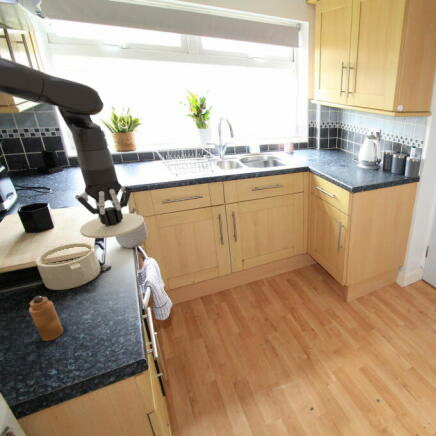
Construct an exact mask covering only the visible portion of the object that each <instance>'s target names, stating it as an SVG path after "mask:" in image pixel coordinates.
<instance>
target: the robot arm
mask: <svg viewBox="0 0 436 436" xmlns="http://www.w3.org/2000/svg"><path fill="white" fill-rule="evenodd" d="M0 94H3V95H7V96H9V97H14V98H18V99H21V100H24V101H28V102H32V103H36V104H41V105H48V106H54V107H57V110H58V112H59V114H60V116H61V118H62V119H63V121H64V123H65V125H66V127H67V128H68V129H69V131H70V133H71V136H72V140H73V144H74V148H75V151H76V158H77V162H78V166H79V169H80V171H81V175H82V179H83V182H84V185H85V188H84V192H82V193H81V194H77V195H75V196H74V197H75V199H76V200H77V201H78V202H79V203H80V204H81V205H82V206H83V207H84V208H85V209H86V210H87V211H89V213H91V214H92V215H98V218H100V221H101V223H102V224H103V225H106V226H108V225H109V222H108V219H107V215H106V213H105V208H106V207H105V206H106V203H105V202H107V201H109V202H110V203H111V205H112V207H114V208H115V212H116V216H117V220H118V222H122V221H121V220H123V216H122V209H123V208H125V207H127V206H128V205H129V201H130V196H131V193H132V190H133V189H132V187H131V186H130V185H123V184H121V183H120V182H119V179H118V175H117V171H116V167H115V163H114V160H113V155H112V153H111V150H110V148H109V144H108V140H107V136H106V133H105V130H104V128H103V127H102V126H101V125H99V124H97V123H96V122H95V121H94V119H93V118H92V116H95V115H98V114H100V113H101V112H102V110H103V109H104V106H105V103H104V99H103V96H102V95H101V94H100V93H99V92H98V91H97V90H96V89H94V88H93V87H92V86H89V85H86V84H84V83H80V82H77V81H74V80H70V79H66V78H62V77H59V76H54V75H51V74H48V73H46V72H43V71H41V70H39V69H37V68H33V67H30V66H27V65H25V64H22V63H19V62H17V61H14V60H10V59H7V58H4V57H1V56H0ZM120 192H121V196H120V200H119V198H118V194H119V193H120ZM89 197H90V198H92V199H93V200H94V201H95V205H96V207H93V206H92V205H91V204H90V203H89Z"/></svg>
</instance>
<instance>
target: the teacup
mask: <svg viewBox="0 0 436 436" xmlns="http://www.w3.org/2000/svg"><path fill="white" fill-rule="evenodd" d="M114 237H115V240H116V241H117V243H118V245H119V246H120V247H123V248H127V249H133V248H138V247H140V246H143V244H145V242H146V241H147V240H148V237H149V233H148V228H147V225H146V222H145V221H144V223H143V224H142V226H140V227H139V228H137V229H136V230H134V231H131V232H129V233H126V234H123V235H119V236H114Z"/></svg>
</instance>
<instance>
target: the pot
mask: <svg viewBox="0 0 436 436" xmlns="http://www.w3.org/2000/svg"><path fill="white" fill-rule="evenodd" d="M74 247H86V248H88V249H90V250H91V251H90V252H89V253H88V254H87V255H86V256H83V257H80V258H76V259H73V260H68V261H62V262H56V263H48V264H44V261H45V258H46V257H47V256H48V255H51V254H53V253H55V252H57V251H61V250H64V249H69V248H74ZM35 265H36V267H37V270H38V273H39V275H40V277H41V280H42V282H43V284H44V286H45V287H46V288H47V289H49V290H52V291H62V290H70V289H74V288H77V287H80V286H82V285H85V284H88V283H90V282H92V281H93V280H94V279H96V278H97V277H98V276H99V275H100V273H101V264H100V261H99V257H98V254H97V251H96V247H95V246H94V245H93V244H92V243H88V242H72V243H66V244H63V243H61V244H57V245H54V246H53V247H52V248H49V249H48V250H45V251H44V252H42V253H40V254H39V255H38V256H37V257H36V258H35Z"/></svg>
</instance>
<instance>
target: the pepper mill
mask: <svg viewBox="0 0 436 436" xmlns="http://www.w3.org/2000/svg"><path fill="white" fill-rule="evenodd" d="M28 312H29V314H30V316H31V318H32V321H33V323H34V325H35V328H36V330H37V332H38V334H39V336H40V339H41V340H42V341H43V342H49V341H52V340H55V339H57V338H59V337H60V336H62V335H63V333H64V331H65V330H64V327H63V325H62V322H61V320H60V317H59V315H58V313H57V310H56V308H55V306H54V303H53V301H52V300H49V299H48V297H47V296H41V295H37V296H35V297H33V299H32V300H31V301H30V302H29V309H28Z"/></svg>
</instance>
